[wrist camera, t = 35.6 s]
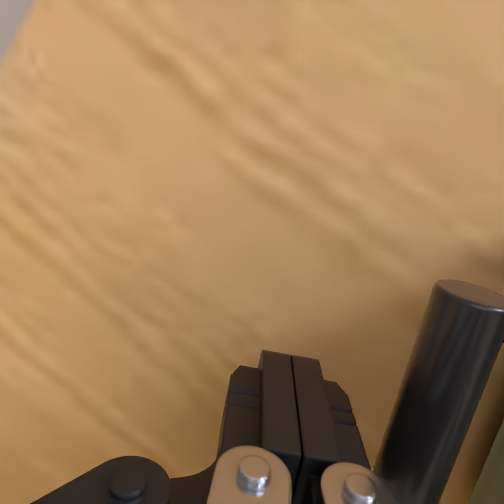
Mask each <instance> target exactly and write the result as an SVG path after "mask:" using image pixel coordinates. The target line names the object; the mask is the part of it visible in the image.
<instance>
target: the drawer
mask: <svg viewBox="0 0 504 504" xmlns="http://www.w3.org/2000/svg"><path fill="white" fill-rule="evenodd" d="M502 343H504V297H503V296H501V295H499V294H497V293H495V292H493V291H490V290H488V289H485V288H482V287H479V286H476V285H473V284H469V283H465V282H461V281H454V280H439V281H437V282H436V283H435V284H434V286H433V289H432V292H431V295H430V298H429V301H428V304H427V307H426V310H425V313H424V316H423V319H422V322H421V325H420V328H419V331H418V334H417V337H416V341H415V344H414V347H413V350H412V353H411V356H410V359H409V362H408V365H407V368H406V371H405V374H404V377H403V380H402V383H401V386H400V389H399V392H398V395H397V398H396V401H395V404H394V407H393V410H392V413H391V416H390V419H389V422H388V425H387V428H386V431H385V434H384V437H383V440H382V443H381V446H380V449H379V452H378V455H377V458H376V461H375V464H374V467H373V470H372V471H373V472H374V473H376V474H377V475H378V476H380V477H381V478H382V479H383V480H384V481H385V482H386V483H387V484H388V485H389V486H390V488H391V489H392V491H393V492H394V494H395V496H396V498H397V501H398V503H399V504H438V503H439V501H440V498H441V496H442V493H443V491H444V488H445V486H446V483H447V481H448V478H449V476H450V473H451V471H452V468H453V466H454V463H455V461H456V458H457V456H458V453H459V451H460V448H461V446H462V443H463V441H464V438H465V436H466V433H467V431H468V428H469V425H470V423H471V420H472V418H473V415H474V413H475V410H476V408H477V405H478V403H479V400H480V398H481V395H482V393H483V390H484V388H485V385H486V383H487V380H488V378H489V375H490V373H491V370H492V368H493V365H494V363H495V360H496V358H497V355H498V353H499V350H500V348H501V345H502ZM468 504H504V420H503V422H502V425H501V427H500V429H499V432H498V434H497V436H496V439H495V441H494V444H493V446H492V448H491V451H490V453H489V455H488V458H487V460H486V462H485V465H484V467H483V469H482V472H481V474H480V477H479V479H478V481H477V484H476V486H475V488H474V491H473V493H472V495H471V498H470V500H469V503H468Z"/></svg>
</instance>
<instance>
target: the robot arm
mask: <svg viewBox="0 0 504 504" xmlns="http://www.w3.org/2000/svg"><path fill="white" fill-rule="evenodd" d="M31 504H399V503H398V501H397V498H396V496H395V494H394V492H393V491H392V489H391V488H390V486H389V485H388V484H387V483H386V482H385V481H384V480H383V479H382V478H381V477H380V476H378V475H377V474H376V473H374V472H373V471H371V468H370V465H369V461H368V458H367V455H366V452H365V449H364V446H363V442H362V439H361V436H360V433H359V430H358V427H357V426H356V420H355V417H354V414H353V413H352V407H351V404H350V401H349V398H348V396H347V394H346V393H345V392H344V391H343V390H342V389H341V387H340V386H339V385H338V384H337V383H336V382H332V381H326V380H323V376H322V371H321V367H320V363H319V360H318V359H312V358H306V357H301V356H295V355H289V354H283V353H278V352H272V351H266V350H262V352H261V356H260V361H259V365H258V368H252V367H247V366H241V365H240V366H239V367H238V368H237V369H236V370H235V371H234V372H233V374H232V375H231V376H230V381H229V387H228V392H227V397H226V402H225V407H224V413H223V418H222V423H221V429H220V436H219V443H218V449H217V456H216V460H215V462H214V463H213V464H212V465H211V466H210V467H209V468H207V469H206V470H204V471H202V472H200V473H198V474H195V475H192V476H187V477H180V478H171V479H169V477H168V475H167V473H166V471H165V470H164V469H163V468H162V467H161V466H160V465H159V464H157V463H156V462H154V461H152V460H150V459H147V458H144V457H139V456H123V457H118V458H114V459H111V460H109V461H107V462H105V463H103V464H101V465H99V466H97V467H96V468H94V469H92V470H90V471H88V472H87V473H85V474H83V475H81V476H79V477H78V478H76V479H74V480H72V481H70V482H68V483H67V484H65V485H63V486H61V487H59V488H58V489H56V490H54V491H52V492H50V493H49V494H47V495H45V496H43V497H41V498H40V499H38V500H36V501H34V502H32V503H31Z"/></svg>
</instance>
